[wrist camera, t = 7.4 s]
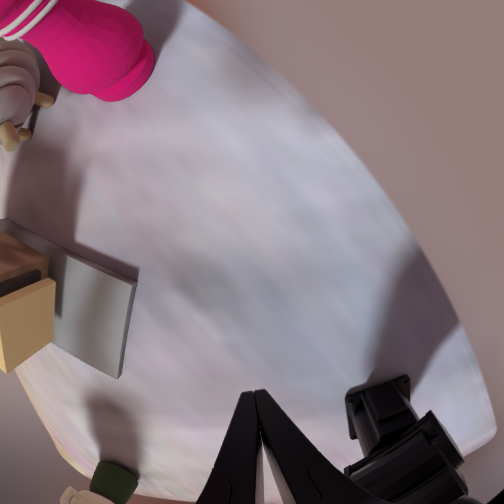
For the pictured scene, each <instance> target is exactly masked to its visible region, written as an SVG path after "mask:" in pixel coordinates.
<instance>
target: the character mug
mask: <svg viewBox="0 0 504 504" xmlns="http://www.w3.org/2000/svg"><path fill="white" fill-rule="evenodd" d="M137 486H138V481H137V479H136V477H135V476H134V475H132V474H131V473H130V472H129V471H127V470H125V469H123V468H121V467H119V466H116V465H114V464H111V463H106V462H99V463H98V465H97V467H96V470H95V472H94V475H93V477H92V480H91V483H90V492H89V491H85V490H84V491H80V492H77V491H76V490H75V489H73V488H72V487H68V488H67V489H66V490H65V492H64V493H63V495H62V497H61V498H60V502H61V504H126V503H127V501H128V500H129V499H130V497H131V496H132V494H133V493H134V491H135V489H136V488H137ZM72 495H73V496H74V498H73V499H72V501H71V502H70V503H68V501H69V499H70V497H71V496H72Z"/></svg>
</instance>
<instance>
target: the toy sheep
mask: <svg viewBox="0 0 504 504" xmlns="http://www.w3.org/2000/svg"><path fill="white" fill-rule="evenodd" d="M39 86H40V71H39V68H38V65H37V61H36V57H35V55H34V53H33V51H32V50H31V49H30V48H29V47H28V46H27V45H25V44H24V43H22V42H20V41H19V40H17V39H15V40H12V41H7V40H5V39H4V38H3V37H0V145H2V144H3V146H4V148H5V150H6V151H9V152H11V151H14V150H15V149H16V148H17V147H18V146H19V144H20V140H21V141H28V140H29V139H30V138H31V134H32V133H31V130H29V129H25V128H21V127H22V126H23V124H24V122H25V120H26V119H27V117H28V115H29V114H30V112H31V109H32V107H33V104H35V105H39V106H41V107H44V108H49V107H51V106H52V105H53V103H54V98H53V97H52V96H50V95H47V94H44V93H42V92H39Z"/></svg>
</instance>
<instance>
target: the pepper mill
mask: <svg viewBox="0 0 504 504" xmlns="http://www.w3.org/2000/svg"><path fill="white" fill-rule="evenodd" d="M0 36H3V38H4V39H5V40H7V41H12V40H15V39H17V38H21V39H23V40H26V41H27V42H29V43H30V44H31V45H33V46H34V47H36V48H37V49H38V50H39V52H40V53H41V54H42V55H43V57H44V59H45V61H46V62H47V64H48V66H49V68H50V70H51V72H52V74H53V76H54V77H55V78H56V79H57V81H58V82H59V83H60V84H61V85H62V86H64V87H65V88H67V89H68V90H70V91H72V92H74V93H78V94H92V95H94V96H95V97H97V98H99V99H101V100H103V101H107V102H113V101H119V100H122V99H125V98H127V97H129V96H131V95H132V94H133V93H135V92H136V91H138V90H139V89H140V88H141V87H142V86H143V85H144V83H145V82H146V81H147V79H148V78H149V76H150V75H151V73H152V70H153V67H154V62H155V55H154V51H153V49H152V48H151V46H150V45H149V44H148V43H147V41H146V40H145V39H144V38H143V30H142V27H141V25H140V23H139V21H138V20H137V19H136V18H135V17H134V16H133V15H132V14H131V13H129V12H128V11H126V10H124V9H122V8H120V7H118V6H115V5H111V4H107V3H103V2H99V1H95V0H0Z"/></svg>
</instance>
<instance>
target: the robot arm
mask: <svg viewBox="0 0 504 504" xmlns="http://www.w3.org/2000/svg"><path fill="white" fill-rule="evenodd" d="M404 380H405V381H404ZM350 399H352V400H350ZM345 406H346V413H347V420H348V428H349V436H350V439H352V440H354V439H358V440H359V443H360V446H361V449H362V452H363V455H364V458H363V459H361V460H360V461H358V462H356V463H354V464H353V465H349V466H347V467H345V468H344V474H343V473H342V472H340V471H339V470H338V469H337V468H336V467H334V466H333V465H332V464H331V463H330V462H329V461H328V460H327V459H326V458H325V457H324V456H323V455H322V454H321V453H320V451H318V449H317V448H316V447H315V446H314V445H313V444H312V443H311V442H310V441H309V440H308V438H307V437H306V436H305V435H304V434H303V433H302V432H301V431H300V429H299V428H298V427H297V426H296V425H295V424H294V423H293V421H292V420H291V419H290V418H289V417H288V416H287V414H286V413H285V412H284V411H283V410H282V409H281V407H280V406H279V405H278V404H277V403H276V401H275V400H274V399H273V398H272V397H271V395H270V394H269V393H268V392H267V391H266V390H265V389H260V390H255V391H254V393H253V391H247V392H242V393H241V395H240V398H239V400H238V403H237V406H236V409H235V411H234V414H233V417H232V419H231V422H230V425H229V427H228V430H227V433H226V435H225V438H224V441H223V443H222V446H221V448H220V451H219V454H218V456H217V459H216V461H215V464H214V467H213V469H212V471H211V474H210V476H209V478H208V481H207V483H206V485H205V487H204V489H203V491H202V493H201V494H200V496H199V498H198V500H197V501H196V503H195V504H264V478H263V449H262V443H263V447H264V450H265V453H266V456H267V459H268V462H269V464H270V467H271V470H272V473H273V476H274V478H275V481H276V484H277V487H278V489H279V492H280V495H281V498H282V500H283V503H284V504H482V503H481V502H480V501H479V500H477V499H474V498H472V497H469V496H468V488H467V484H466V481H465V478H464V475H463V473H462V471H461V470H460V468H459V467H460V466H461V465H463V464H464V463H465V460H464V458H463V456H462V454H461V452H460V450H459V448H458V447H457V445H456V443H455V442H454V440H453V439H452V437H451V436H450V434H449V433H448V432H447V430H446V429H445V427H444V426H443V425H442V424H441V422H440V421H439V420H438V418H437V417H436V416H435V415H434V413H433V412H432V411H431V410H430V411H428V412H427V413H426V415H425V416H424V417H422V418H421V419H420V418H419V417H418V415H417V414H416V412H415V410H414V409H413V407H412V406H411V404H410V378H409V376H408V375H404V376H401V377H399V378H396V379H394V380H391V381H388V382H385V383H383V384H380V385H377V386H374V387H371V388H368V389H365V390H362V391H359V392H356V393H353V394H350V395H347V396H346V397H345ZM260 433H261V434H260ZM261 438H262V440H261ZM486 504H504V489H503V490H501V491H500V492H499V493H498V494H497V495H496V496H494V497H493V498H492V499H491V500H490V501H488V502H487V503H486Z"/></svg>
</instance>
